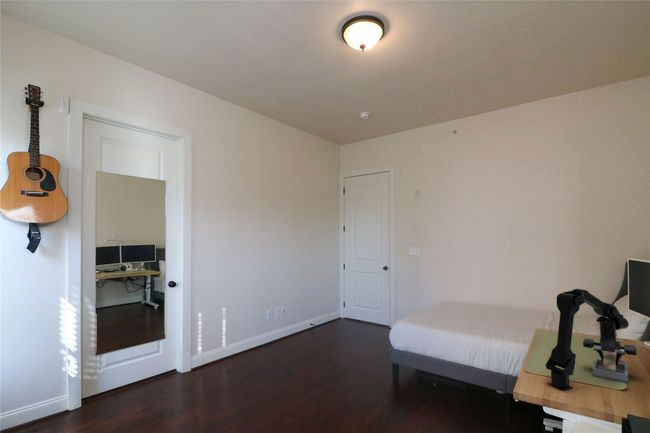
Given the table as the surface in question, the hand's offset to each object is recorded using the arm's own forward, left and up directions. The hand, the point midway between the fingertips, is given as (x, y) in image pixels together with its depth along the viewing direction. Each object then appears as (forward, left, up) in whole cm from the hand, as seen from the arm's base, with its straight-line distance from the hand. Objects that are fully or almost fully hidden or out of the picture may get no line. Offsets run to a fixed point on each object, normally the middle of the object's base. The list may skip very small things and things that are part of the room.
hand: (610, 365), depth 155 cm
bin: (0, 0, -4) cm, 4 cm away
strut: (0, 0, -1) cm, 1 cm away
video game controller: (+17, +8, -4) cm, 20 cm away
